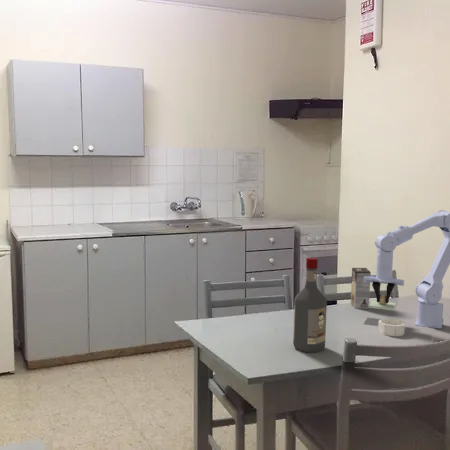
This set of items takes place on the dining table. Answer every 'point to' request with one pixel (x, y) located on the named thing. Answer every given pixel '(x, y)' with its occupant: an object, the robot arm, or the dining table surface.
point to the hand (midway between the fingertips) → (382, 302)
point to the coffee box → (360, 288)
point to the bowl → (391, 327)
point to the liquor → (310, 313)
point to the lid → (382, 304)
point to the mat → (372, 321)
